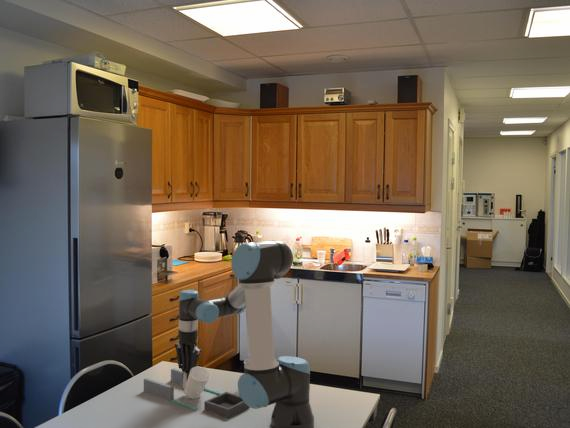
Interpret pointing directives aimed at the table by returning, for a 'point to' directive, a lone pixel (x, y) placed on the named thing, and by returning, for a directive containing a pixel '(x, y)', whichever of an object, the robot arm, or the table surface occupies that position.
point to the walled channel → (163, 385)
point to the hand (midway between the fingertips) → (186, 387)
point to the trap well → (225, 404)
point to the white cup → (196, 382)
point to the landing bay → (193, 406)
